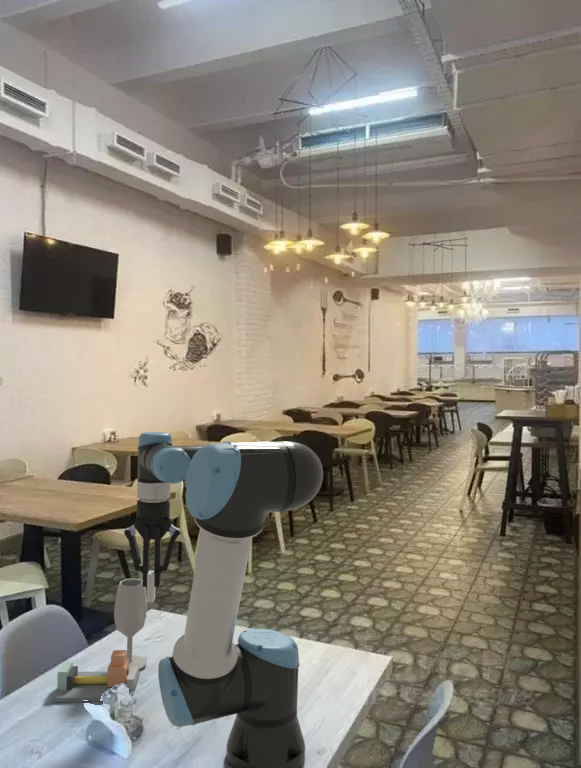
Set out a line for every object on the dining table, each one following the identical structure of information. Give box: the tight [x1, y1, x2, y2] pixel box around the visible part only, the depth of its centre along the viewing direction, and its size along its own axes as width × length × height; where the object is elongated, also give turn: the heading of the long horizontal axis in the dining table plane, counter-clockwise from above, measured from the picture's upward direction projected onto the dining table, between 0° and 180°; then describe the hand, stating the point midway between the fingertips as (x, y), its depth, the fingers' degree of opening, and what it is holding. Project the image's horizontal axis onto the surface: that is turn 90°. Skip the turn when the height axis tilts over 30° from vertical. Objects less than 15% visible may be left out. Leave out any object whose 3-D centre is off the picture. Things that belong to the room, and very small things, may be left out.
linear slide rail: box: [52, 661, 141, 703], centre depth 144 cm, size 12×17×5 cm
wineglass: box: [113, 577, 148, 672], centre depth 155 cm, size 9×9×21 cm
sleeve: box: [107, 649, 129, 687], centre depth 144 cm, size 5×4×7 cm
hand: (150, 600), depth 144 cm, fingers closed
